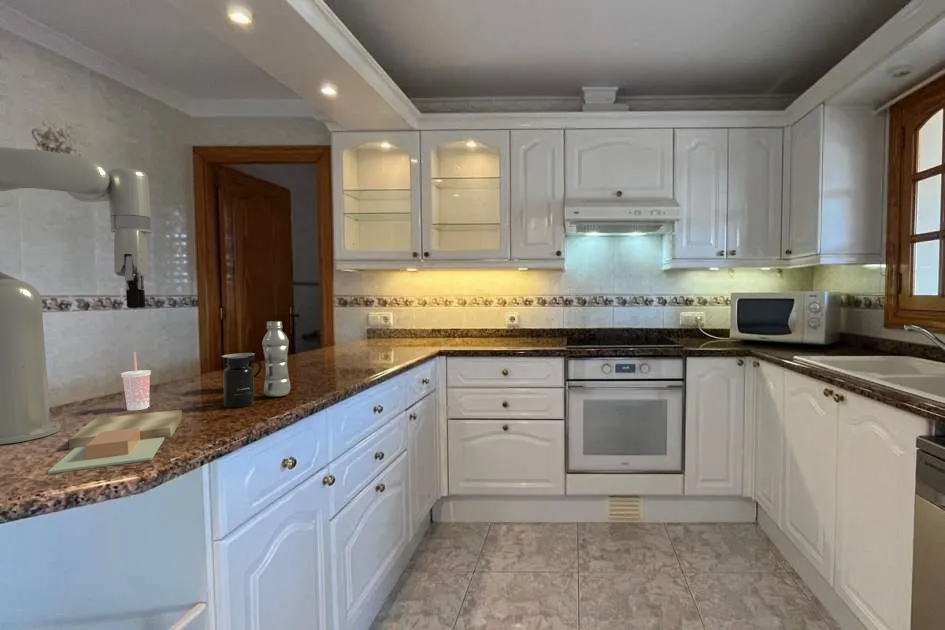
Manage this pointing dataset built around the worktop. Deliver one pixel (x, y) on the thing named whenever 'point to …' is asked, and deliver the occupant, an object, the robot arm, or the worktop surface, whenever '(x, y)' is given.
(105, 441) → the terracotta tile
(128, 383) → the beverage cup
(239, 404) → the supplement bottle
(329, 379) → the worktop surface
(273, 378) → the plastic bottle
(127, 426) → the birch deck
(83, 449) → the sage mat
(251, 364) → the coffee mug
